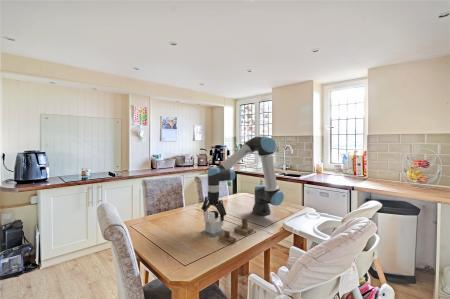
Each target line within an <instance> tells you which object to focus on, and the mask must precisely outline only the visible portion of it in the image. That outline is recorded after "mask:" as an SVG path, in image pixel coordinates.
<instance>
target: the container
mask: <svg viewBox="0 0 450 299" xmlns="http://www.w3.org/2000/svg"><path fill="white" fill-rule="evenodd" d="M204 222H205V227H204V228H205V229H204V230H205V231H206V232H209V233H211V234H216V233H218V232H220V231H221V229H222V226H219V212H218V210H210V211H208V219H207V220H205V221H204Z"/></svg>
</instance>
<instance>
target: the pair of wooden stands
mask: <svg viewBox="0 0 450 299" xmlns="http://www.w3.org/2000/svg"><path fill="white" fill-rule="evenodd" d="M248 223H249V222H248V218H247V217H243V218H241V224H239V225H237V226H234V228H233V229H234V230H233V231H234V232H235V233H238V234H241V235H244V236H248V235H250V234H252V233H254V228H253V227H251V226H248ZM218 241H220V242H224V243H226V244H229V245H235V243H237V237H236V236H232V235H231V232H230V231H229V230H226V231H225V232H224V233H222V234H220V235H219V236H218Z"/></svg>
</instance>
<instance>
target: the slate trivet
mask: <svg viewBox="0 0 450 299" xmlns="http://www.w3.org/2000/svg"><path fill="white" fill-rule="evenodd" d="M225 231H227V230H226V229H223V228H221V231H220V232H218V233H216V234H211V233H209V232H206V231H205V229H203V230H201V231H200V233H201V234H204V235H206V236H209V237H211V238H216V237H219V235H221V234H223V233H224V234H225Z"/></svg>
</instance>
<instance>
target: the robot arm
mask: <svg viewBox="0 0 450 299" xmlns="http://www.w3.org/2000/svg"><path fill="white" fill-rule="evenodd" d="M276 146H277V143H276V141H275V139H274V137H271V136H267V135H264V136H263V135H262V136H254V137H252V138H250V139H249V140H247V141H246V142H244V143H243V144H242V145H241V147H240V148H239V149H238V150H236V151H235V152H234V153H233V154H231V155H230V156H229V157H227V158H226V159H225V160H224V161H223V162H221V163H220V164H219V165H217V166H214V167H213V166H212V167H208V168H207V196H205V197H204V201H203V203H202V206H201V209H200V210H201V211H202V210H203V217H204V222H205V220H207V219H209V208H210V206H213V207H215V208H216V211H217V212H218V218H219V226H221V227H223V226H224V221H225V216H227V211H226V208H225V206H224V203H223V201H224V200H223V199H219V198H220V183H221V182H230V181H234V180H235V179H236V172H235V169H232V168H233V167H234V166H236V165H237V164H238V163H239V162H241V161H242V160H244V158H246V157H247V156H248V155H252V153H255V152H257V154H258V156H259V157H260V160H261V166H262V171H263V177H264V182H265V184H261V185H260V184H259V185H256V186H254V204H253V207H252V210H251V212H252V214H253V215H257V216H261V217H262V216H263V217H264V216H269V215H271V214H272V213H271V212H272V211H271V207H270V205H272V206H276V207H277V206H281V204H282V203H283V201H284V199H285V194H284V192H283V191H281V189H280V186H279V185H278V184H277V177H276V171H275V166H274V165H275V164H274V158H273V155H274V153H275V150H276V148H277V147H276Z"/></svg>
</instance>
